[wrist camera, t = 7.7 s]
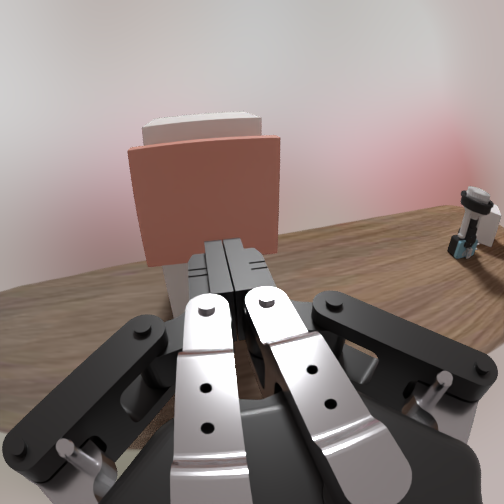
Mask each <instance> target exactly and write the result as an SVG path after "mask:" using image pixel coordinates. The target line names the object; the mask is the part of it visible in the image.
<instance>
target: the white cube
mask: <svg viewBox="0 0 504 504" xmlns="http://www.w3.org/2000/svg"><path fill="white" fill-rule="evenodd" d="M500 219H501V214H500V211H499V209H498V206H497V205H494V206H493V208H491V211H490V214H488V215H485V216H482V217H481V220H480V224H479V227H478V230H477V235H476V236H477V238H476V239H477V240H478V242H479V243H481V244H484V245H486V246H489V247H492V244H493V241H494V238H495V235H496V232H497V229H498V226H499V222H500Z"/></svg>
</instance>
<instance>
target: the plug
mask: <svg viewBox="0 0 504 504" xmlns="http://www.w3.org/2000/svg"><path fill="white" fill-rule="evenodd" d="M128 159H129V167H130V173H131V180H132V187H133V193H134V199H135V204H136V211H137V216H138V221H139V227H140V232H141V237H142V242H143V246H144V251H145V256H146V260H147V265H148V267H155V266H164V265H173V264H182V263H188V261H189V259H190V258H191V256H192V255H194V254H203V253H205V246H204V241H213V240H221V241H222V240H223V239H230V238H240V239H241V242H242V245H243V247H244V249H246V248H255V249H256V250H258V251H259V252H260V253H261V254H262V255H264V254H273V253H277V245H278V216H279V213H278V212H279V179H280V137H278V136H276V135H269V136H267V135H266V136H239V137H222V138H208V139H196V140H186V141H177V142H168V143H160V144H152V145H145V146H138V147H132V148H130V149H129V150H128ZM222 245H223V244H222Z"/></svg>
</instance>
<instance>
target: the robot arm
mask: <svg viewBox="0 0 504 504" xmlns="http://www.w3.org/2000/svg"><path fill="white" fill-rule="evenodd" d="M222 244H223V245H222ZM204 246H205V253H203V254H194V255H192V256H191V258H190V259H189V261H188V284H189V302H188V304H187V305H186V309H185V312H184V313H183V314H181V315H180V316H178V317H177V318H174V319H172V320H169V321H166V322H163V321H162V319H160V318H159V317H157V316H155V315H140V316H137V317H135V318H133V319H131V320H130V321H128V322H127V323H126V324H125V325H124V326H123V327H122V328H120V329H119V330H118V331H117V332H116V333H115V334H114V335H113V336H111V337H110V338H109V339H108V340H107V341H106V342H105V343H104V344H102V345H101V346H100V347H99V348H98V349H97V350H96V351H95V352H94V353H93V354H91V355H90V356H89V357H88V358H87V359H86V360H85V361H84V362H83V363H82V364H80V365H79V366H78V367H77V368H76V369H75V370H74V371H73V372H72V373H71V374H70V375H68V376H67V377H66V378H65V379H64V380H63V381H62V382H61V383H60V384H59V385H58V386H57V387H56V388H55V389H53V390H52V391H51V392H50V393H49V394H48V395H47V396H46V397H45V398H44V399H43V400H42V401H41V402H40V403H39V404H38V405H37V406H35V407H34V408H33V409H32V410H31V411H30V412H29V413H28V414H27V415H26V416H25V417H24V418H23V419H22V420H21V421H20V422H19V423H18V424H17V425H16V426H15V427H14V428H13V429H12V430H11V431H10V432H9V433H8V434H7V435H6V437H5V439H4V441H3V446H2V451H3V457H4V459H5V461H6V463H7V464H8V465H9V466H10V467H11V468H12V469H14V470H15V471H17V472H18V473H20V474H21V475H23V476H24V477H26V478H27V479H28V480H29V481H31V482H33V483H34V484H36V485H38V487H39V488H40V489H41V490H42V491H43V492H44V494H45V495H46V496H47V497H48V498H49V499H50V501H51V502H52V503H53V504H483V503H482V496H481V469H480V463H479V460H478V458H477V456H476V454H475V453H474V451H473V450H472V449H471V448H470V447H469V446H468V445H467V441H468V438H469V435H470V431H471V428H472V424H473V421H474V416H475V413H476V408H477V404H478V401H479V400H480V399H481V398H482V396H483V395H484V394H485V393H486V392H487V391H488V389H489V388H490V387H491V386H492V384H493V383H494V382H495V380H496V379H497V376H498V370H497V366H496V364H495V362H494V361H493V360H492V358H490V357H489V356H488V355H487V354H485V353H482V352H480V351H478V350H475V349H473V348H471V347H468V346H466V345H464V344H461V343H459V342H457V341H454V340H452V339H449V338H447V337H445V336H442V335H440V334H438V333H435V332H433V331H431V330H428V329H426V328H424V327H421V326H419V325H417V324H414V323H412V322H409V321H407V320H405V319H402V318H400V317H398V316H395V315H393V314H391V313H388V312H386V311H384V310H381V309H379V308H377V307H374V306H372V305H370V304H367V303H365V302H363V301H360V300H358V299H356V298H353V297H351V296H348V295H346V294H344V293H341V292H338V291H324V292H321V293H319V294H317V295H316V296H315V297H314V299H313V303H312V302H298V301H293V300H290V299H288V297H287V295H286V294H285V293H284V292H283V291H282V290H280V289H278V288H277V287H276V285H275V283H274V281H273V278H272V276H271V274H270V272H269V269H268V268H267V265H266V263H265V260H264V258H263V256H262V254H261V253H260V252H259V251H258V250H256V249H255V248H246V249H244V247H243V245H242V242H241V239H240V238H230V239H223V240H222V241H221V240H213V241H204ZM236 330H237V333H236ZM237 335H238V339H239V340H245V339H246V343H247V353H248V358H249V361H250V364H251V367H252V370H253V372H254V375H255V378H256V380H257V383H258V386H259V389H260V391H261V394H262V397H263V399H262V400H246V399H239V398H238V390H237V381H236V372H235V363H234V352H235V350H234V341H237ZM346 339H347V340H349V341H351V342H353V343H355V344H357V345H359V346H362V347H364V348H366V349H368V350H370V351H372V352H374V353H375V354H376V355H377V357H378V359H376V358H373V357H371V356H369V355H367V354H365V353H363V352H361V351H359V350H357V349H354V348H352V347H350V346H348V345H346V344H344V343H345V340H346ZM174 394H175V416H174V418H173V419H171V420H169V421H168V422H166V423H165V424H164V425H162V426H161V427H160V428H159V429H158V430H157V431H156V432H155V433H154V435H153V436H152V437H151V438H150V440H149V441H148V442H147V443H146V445H145V446H144V447H143V449H142V450H141V451H140V452H139V454H138V455H137V456H136V457H135V459H134V460H133V461H132V462H131V464H130V465H129V466H128V468H127V469H126V470H125V471H124V472H123V474H122V475H121V476H120V478H119V479H118V480H117V481H116V479H117V468H116V465H115V462H116V461H117V460H118V458H119V457H120V456H121V455H122V454H123V453H124V452H125V451H126V449H127V448H128V447H129V446H130V445H131V444H132V443H133V441H134V440H135V439H136V438H137V437H138V436H139V435H140V433H141V432H142V431H143V430H144V429H145V428H146V426H147V425H148V424H149V423H150V422H151V421H152V420H153V418H154V417H155V416H156V415H157V414H158V413H159V411H160V410H161V409H162V408H163V407H164V405H165V404H166V403H167V402H168V401H169V400H170V398H171V397H172V396H173V395H174Z"/></svg>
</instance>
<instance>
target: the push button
mask: <svg viewBox="0 0 504 504" xmlns="http://www.w3.org/2000/svg"><path fill="white" fill-rule="evenodd" d="M461 196H462V198H461V204H462V205H463V206H464V208H465V214H464V218H463V221H462V225H461V228H460V229H459V232H458V235H453V236H452V237H451V241H450V244H449V247H448V252H449V253H450V254H452V255H453V256H454V257H455V258H456V259H458V258H463V257H466V259H468V258H470V256H472V255H473V254H474V252H475V250H478V249H477V248H476V246H477V245H479V243H478V240H477V239H476V238H477V236H476V235H477V230H478V227H479V224H480V220H481V217H482V216H485V215H488V214H490V211H491V208H493V206H494V204H493V202H492V201H491V200H490V199H489V198H490V195H489V193H487V192H486V191H484V190H482V189H479V188H476V187H471V186H469V187H468V190H467V191H462V192H461Z"/></svg>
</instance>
